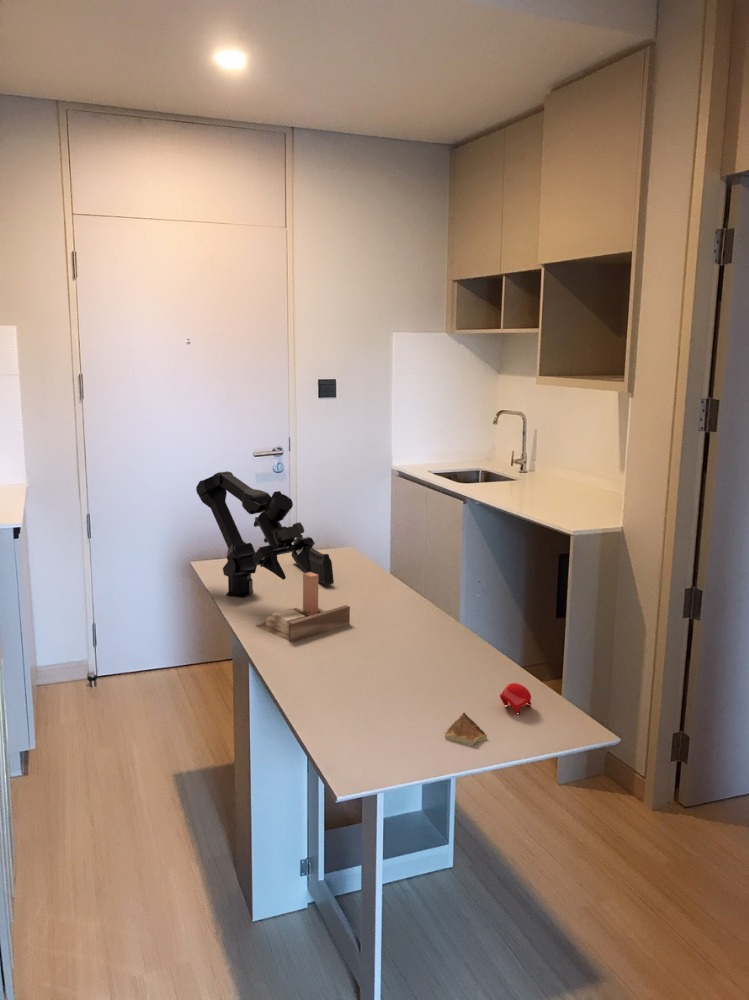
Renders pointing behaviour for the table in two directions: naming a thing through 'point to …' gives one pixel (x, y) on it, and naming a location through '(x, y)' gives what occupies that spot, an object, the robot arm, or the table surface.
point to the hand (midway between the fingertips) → (297, 575)
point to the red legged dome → (515, 696)
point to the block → (310, 593)
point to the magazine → (318, 565)
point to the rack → (305, 622)
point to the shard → (465, 731)
